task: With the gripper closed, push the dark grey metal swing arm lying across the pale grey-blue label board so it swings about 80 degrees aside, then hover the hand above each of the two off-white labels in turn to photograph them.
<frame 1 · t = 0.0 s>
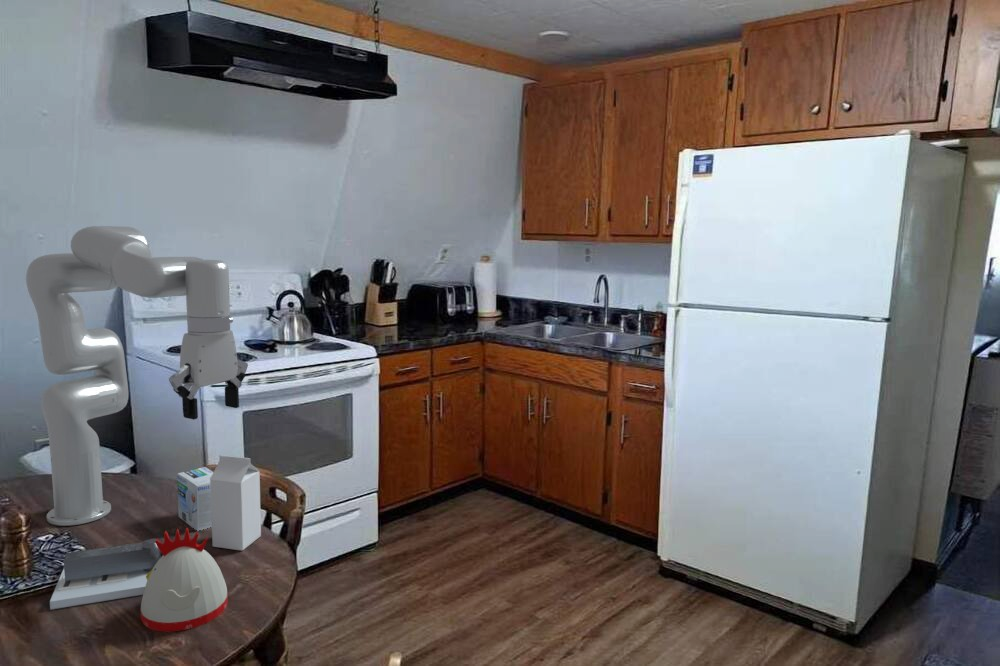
hand: (212, 412, 131), 31 cm above the table, tool pointing down, fingers open, 9 cm apart
label board: (106, 578, 128), on the table
swing arm: (114, 560, 127), point 4 cm above the table, hinge at 0.0°
light bulb box: (202, 521, 155), on the table
kitchen timer: (185, 609, 120), on the table
milk carton: (237, 542, 145), on the table
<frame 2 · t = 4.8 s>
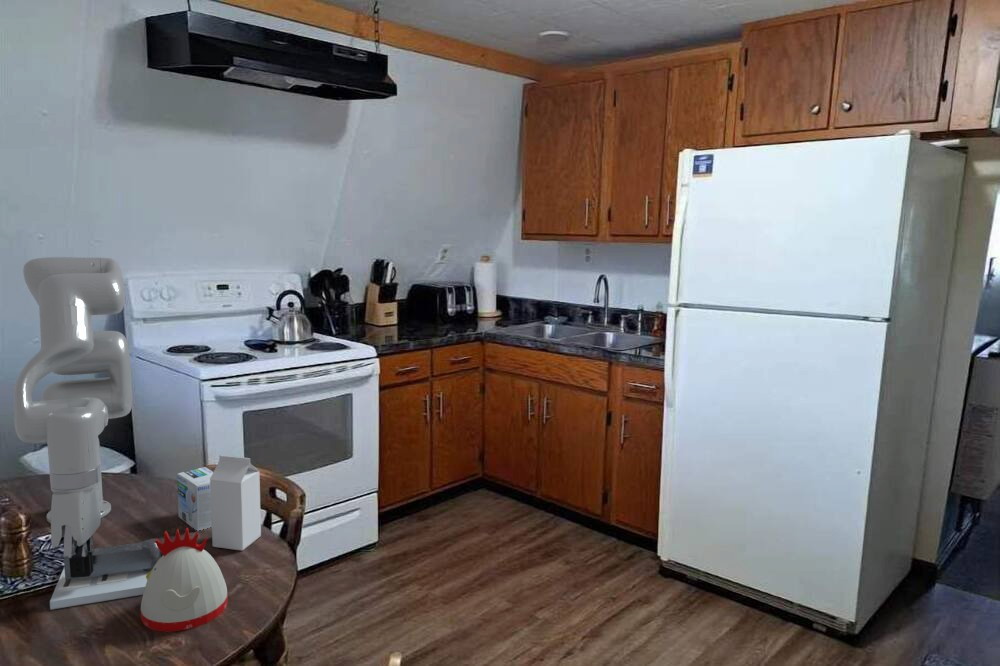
hand: (82, 574, 122), 4 cm above the table, tool pointing down, fingers closed
swing arm: (114, 559, 127), point 4 cm above the table, hinge at -1.7°, touching gripper
everything else where it was.
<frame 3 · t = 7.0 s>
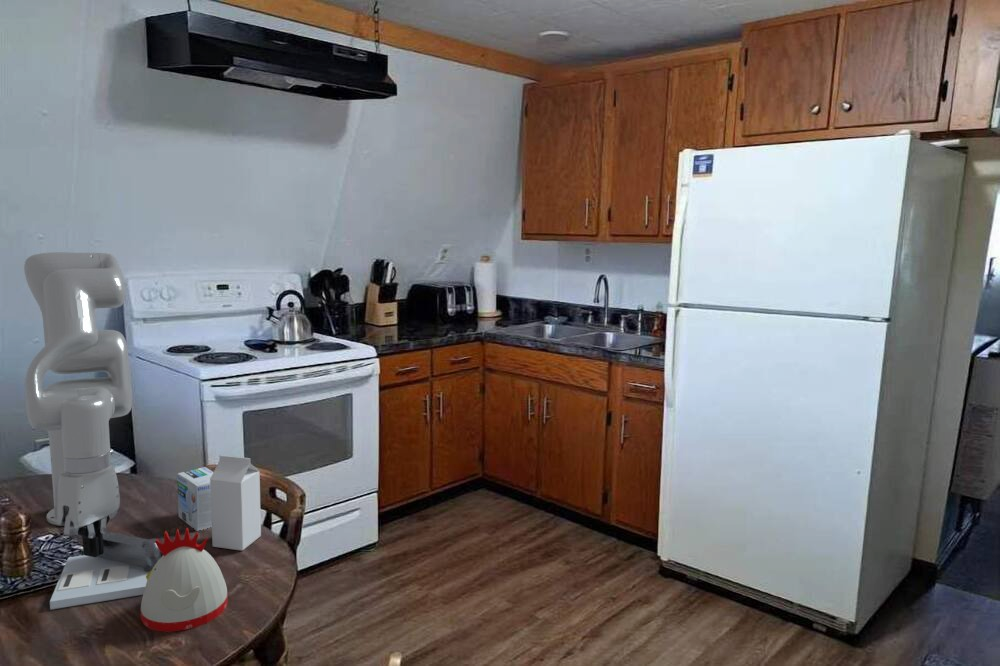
hand: (93, 554, 129), 4 cm above the table, tool pointing down, fingers closed
swing arm: (125, 549, 131), point 4 cm above the table, hinge at -40.6°, touching gripper
everything else where it was.
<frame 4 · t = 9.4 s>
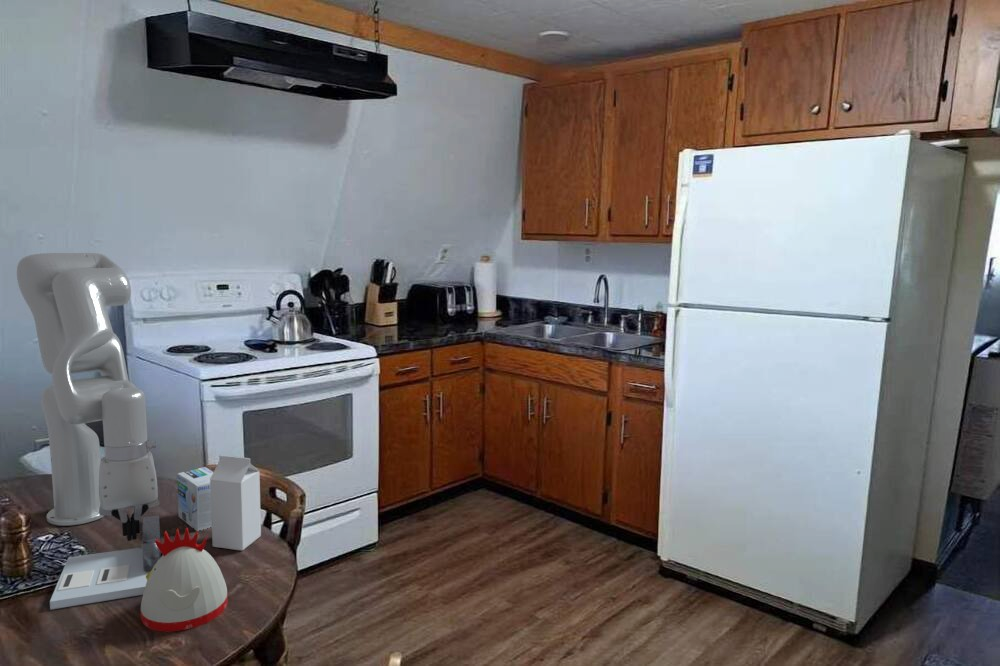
hand: (131, 537, 137), 4 cm above the table, tool pointing down, fingers closed
swing arm: (151, 541, 135), point 4 cm above the table, hinge at -85.8°
everything else where it was.
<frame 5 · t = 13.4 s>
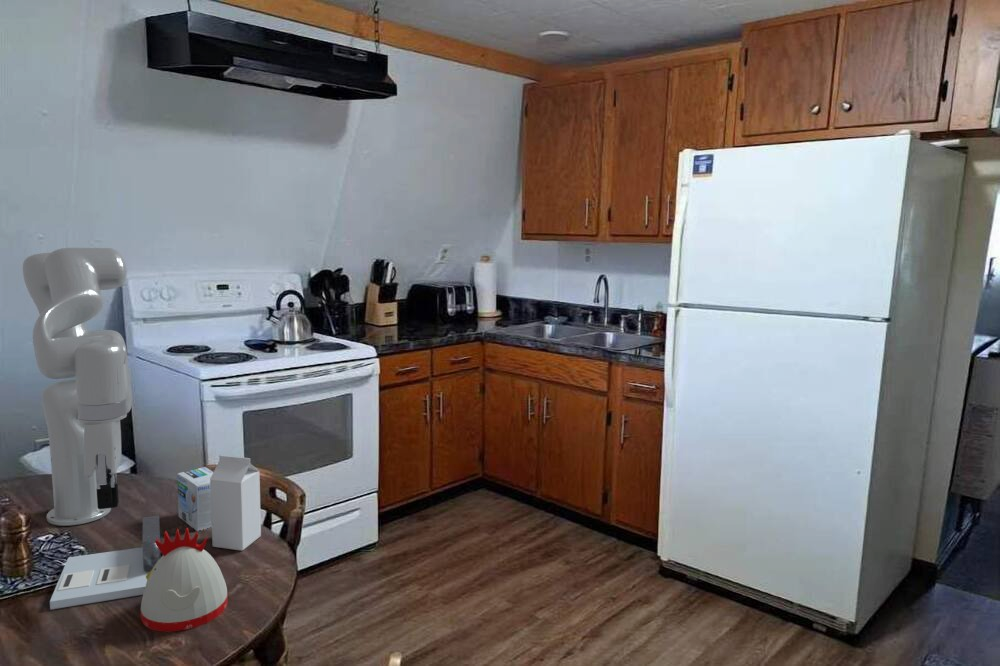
hand: (108, 506, 125), 15 cm above the table, tool pointing down, fingers closed
nothing on the table moved.
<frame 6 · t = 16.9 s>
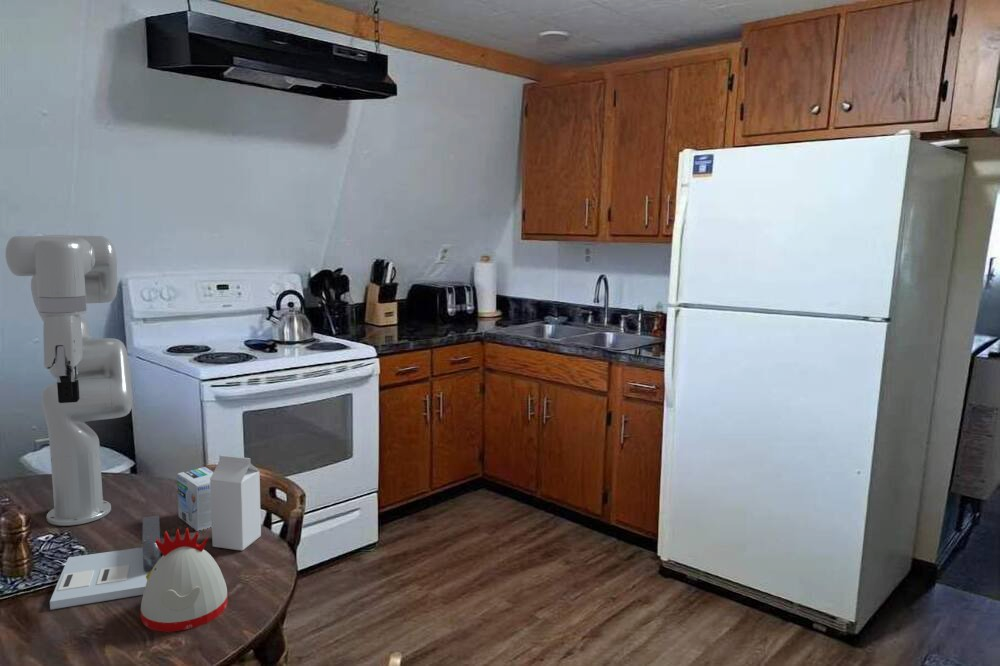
hand: (69, 401, 129), 33 cm above the table, tool pointing down, fingers closed
nothing on the table moved.
at the end: swing arm at -86° (first picture: +0°) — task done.
